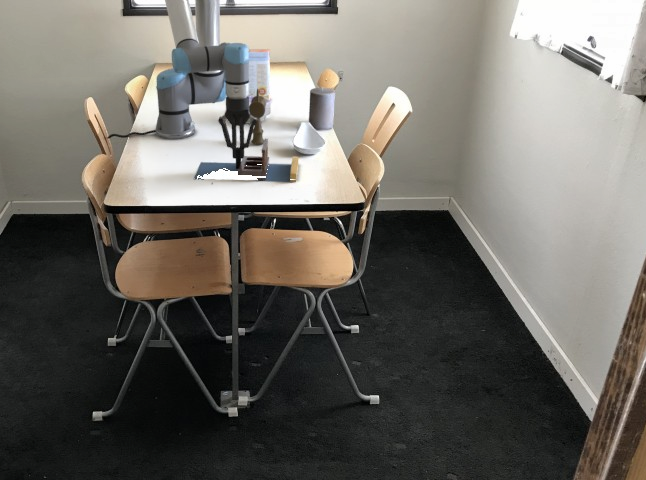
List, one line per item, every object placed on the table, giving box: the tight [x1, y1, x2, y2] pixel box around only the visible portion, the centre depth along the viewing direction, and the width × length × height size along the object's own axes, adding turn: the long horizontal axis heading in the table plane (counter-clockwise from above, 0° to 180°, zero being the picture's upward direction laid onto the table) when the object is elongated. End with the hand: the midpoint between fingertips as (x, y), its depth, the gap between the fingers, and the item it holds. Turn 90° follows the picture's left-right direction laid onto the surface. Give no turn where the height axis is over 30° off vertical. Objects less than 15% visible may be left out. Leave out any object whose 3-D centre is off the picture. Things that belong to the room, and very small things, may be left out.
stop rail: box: [289, 156, 300, 183], centre depth 237 cm, size 2×16×3 cm, turn 174°
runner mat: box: [193, 161, 299, 183], centre depth 240 cm, size 34×16×1 cm, turn 84°
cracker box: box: [248, 48, 271, 100], centre depth 305 cm, size 14×6×21 cm, turn 84°
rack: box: [238, 138, 270, 180], centre depth 236 cm, size 9×14×10 cm, turn 173°
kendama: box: [249, 89, 266, 146], centre depth 258 cm, size 6×10×20 cm, turn 175°
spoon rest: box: [292, 121, 327, 156], centre depth 258 cm, size 24×12×7 cm, turn 5°
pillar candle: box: [308, 86, 336, 131], centre depth 275 cm, size 10×10×15 cm
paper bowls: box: [246, 96, 272, 124], centre depth 285 cm, size 15×15×8 cm
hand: (238, 167), depth 239 cm, fingers closed
